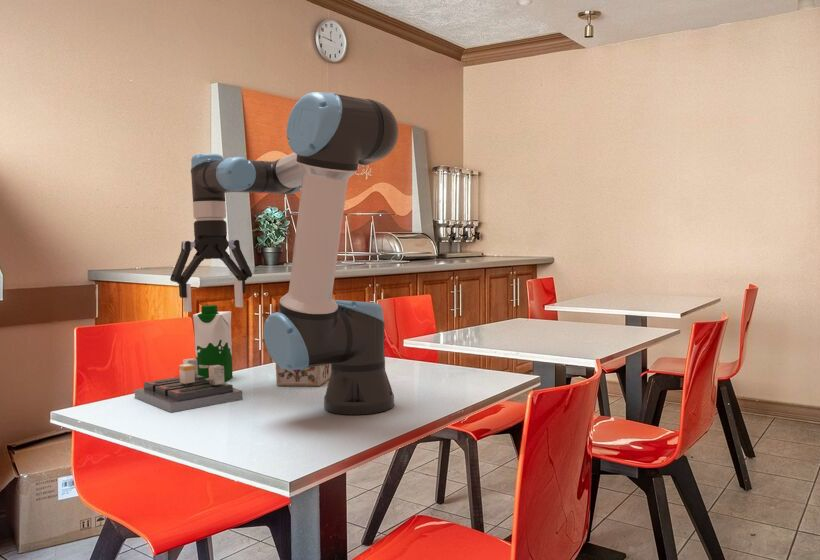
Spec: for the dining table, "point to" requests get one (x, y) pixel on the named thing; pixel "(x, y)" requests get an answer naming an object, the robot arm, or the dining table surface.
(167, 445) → the dining table surface
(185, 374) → the toggle
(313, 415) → the dining table surface
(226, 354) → the milk carton
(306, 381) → the decorative jar
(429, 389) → the dining table surface
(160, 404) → the breaker panel
